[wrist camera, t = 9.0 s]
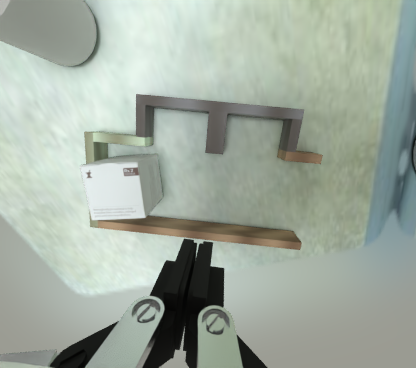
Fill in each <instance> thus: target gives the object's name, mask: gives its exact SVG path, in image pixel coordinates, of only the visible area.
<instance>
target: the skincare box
mask: <svg viewBox="0 0 416 368" xmlns="http://www.w3.org/2000/svg"><path fill="white" fill-rule="evenodd" d="M80 171H81V175H82V179H83V183H84V187H85V191H86V196H87V201H88V205H89V210H90V215H91V219H92V220H115V219H137V218H146V217H147V216H148V214H149V213H150V212H151V211H152V210H153V208H154V207H155V206H156V205H157V204H158V202H159V201H160V200H161V199H162V198H163V191H162V184H161V177H160V170H159V162H158V155H157V154H141V155H127V156H116V157H111V158H107V159H103V160H99V161H95V162H91V163H87V164H83V165H80Z"/></svg>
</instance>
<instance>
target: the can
mask: <svg viewBox="0 0 416 368" xmlns="http://www.w3.org/2000/svg"><path fill="white" fill-rule="evenodd" d="M0 41H2V42H5V43H7V44H10V45H12V46H15V47H17V48H20V49H22V50H24V51H27V52H29V53H32V54H34V55H37V56H39V57H42V58H44V59H46V60H49V61H51V62H54V63H56V64H59V65H63V66H75V65H79V64H81V63H82V62H84V61H85V60H87V59H88V57H89V56H90V55H91V53H92V52H93V50H94V46H95V43H96V24H95V20H94V16H93V14H92V12H91V10H90V9H89V7H88V5H87V4H86V3H85V2H84V1H83V0H0Z"/></svg>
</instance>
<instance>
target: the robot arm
mask: <svg viewBox="0 0 416 368" xmlns="http://www.w3.org/2000/svg"><path fill="white" fill-rule="evenodd" d="M413 161H414V166H415V170H416V141H415V146H414V151H413ZM212 247H213V242H205V241H204V242H203V244H201V243H200V244H199V248H198V253H197V257H196V249H197V243H194V240H190V239H184V240H183V243H182V245H181V248H180V251H179V253H178V256H177V258H176V261H168V260H166V262H165V263H164V266H163V268H162V270H161V272H160V274H159V276H158V279H157V281H156V283H155V285H154V287H153V290H152V292H151V294H150V296H146V297H142V298H139V299H137V300H136V301H134V302H133V303H132V304H131V306H130V307H129V308H128V310H127V311H126V312H125V314H124V315H123V317H122V318H121V319H120V320H119V321H118V322H116V323H114V324H112V325H110V326H108V327H106V328H104V329H102V330H100V331H98V332H96V333H94V334H92V335H91V336H88V337H87V338H85V339H83V340H81V341H79V342H77V343H75V344H73V345H71V346H69V347H68V348H66V349H65V350H63V351H62V352H60V353H57V351H56V349H55V350H43V351H32V352H20V353H9V354H0V368H162V365H163V364H164V363H165V362H167V361H168V360H169V359H170V358H173V357H174V352H175V349H176V350H179V349H180V345H181V341H182V336H183V332H184V327H185V333H184V346H183V351H186V363H187V365H188V366H189V368H267V367H266V366H265V364H264V363H263V362H262V361H261V360H260V359H259V358H258V357H257V356H256V355H255V354H254V353H253V352H252V350H251V349H250V348H249V347H248V346H247V345H246V344H245V343H244V342H243V341H242V340H241V339H240V338H239V336H238V335H237V334H236V331H235V325H234V321H233V318H232V316H231V314H230V313H229V312H228V311H227V310H226V309H225V308H223V306H224V303H223V302H224V268H219V267H212V266H210V265H211V256H212ZM195 260H196V261H195Z"/></svg>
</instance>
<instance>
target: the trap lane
mask: <svg viewBox="0 0 416 368" xmlns="http://www.w3.org/2000/svg"><path fill="white" fill-rule="evenodd" d="M154 108H161V109H172V110H183V111H193V112H204V113H209V118H208V129H207V141H206V152H205V153H215V154H223V149H224V140H225V131H226V123H227V115H236V116H246V117H257V118H268V119H278V120H284V123H283V129H282V134H281V140H280V145H279V151H278V156H277V157H278V158H281V159H283V160H285V161H296V162H306V163H316V164H321V160H322V156H323V155H320V154H316V153H312V152H303V151H296V148H297V143H298V138H299V133H300V128H301V123H302V118H303V113H304V110H302V109H291V108H280V107H269V106H259V105H248V104H237V103H226V102H216V101H205V100H194V99H183V98H172V97H162V96H151V95H140V94H136V135H129V134H119V133H109V132H84V135H85V151H86V164H87V163H91V162H95V161H99V160H103V159H107V158H108V151H107V143H114V144H124V145H134V146H144V147H145V146H150V145H153V116H154ZM89 213H90V210H89ZM90 227H95V228H104V229H113V230H122V231H131V232H141V233H150V234H159V235H168V236H177V237H186V238H196V239H205V240H214V241H223V242H232V243H241V244H250V245H260V246H269V247H278V248H287V249H296V250H300V248H301V244H302V243H301V241H300V240H299V239H298V237H297V236H296V235H295V233H294V232H293V231H285V230H276V229H267V228H257V227H248V226H239V225H229V224H220V223H211V222H201V221H192V220H183V219H173V218H164V217H155V216H147V217H146V218H137V219H115V220H92V219H91V215H90Z"/></svg>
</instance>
